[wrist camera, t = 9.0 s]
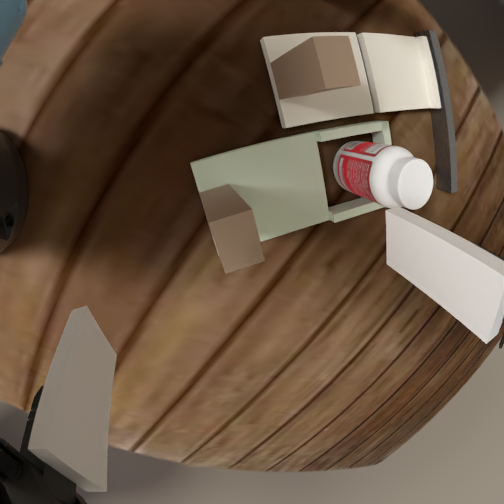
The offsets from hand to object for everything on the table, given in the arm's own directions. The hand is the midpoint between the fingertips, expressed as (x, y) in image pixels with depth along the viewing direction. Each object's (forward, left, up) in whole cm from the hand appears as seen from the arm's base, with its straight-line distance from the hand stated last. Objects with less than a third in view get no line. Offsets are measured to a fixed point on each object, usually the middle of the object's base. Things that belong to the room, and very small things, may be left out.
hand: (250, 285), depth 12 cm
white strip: (+26, +9, -20) cm, 35 cm away
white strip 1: (+15, +9, -20) cm, 27 cm away
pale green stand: (+10, -2, -20) cm, 23 cm away
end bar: (+33, +4, -20) cm, 39 cm away
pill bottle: (+17, -2, -21) cm, 27 cm away
